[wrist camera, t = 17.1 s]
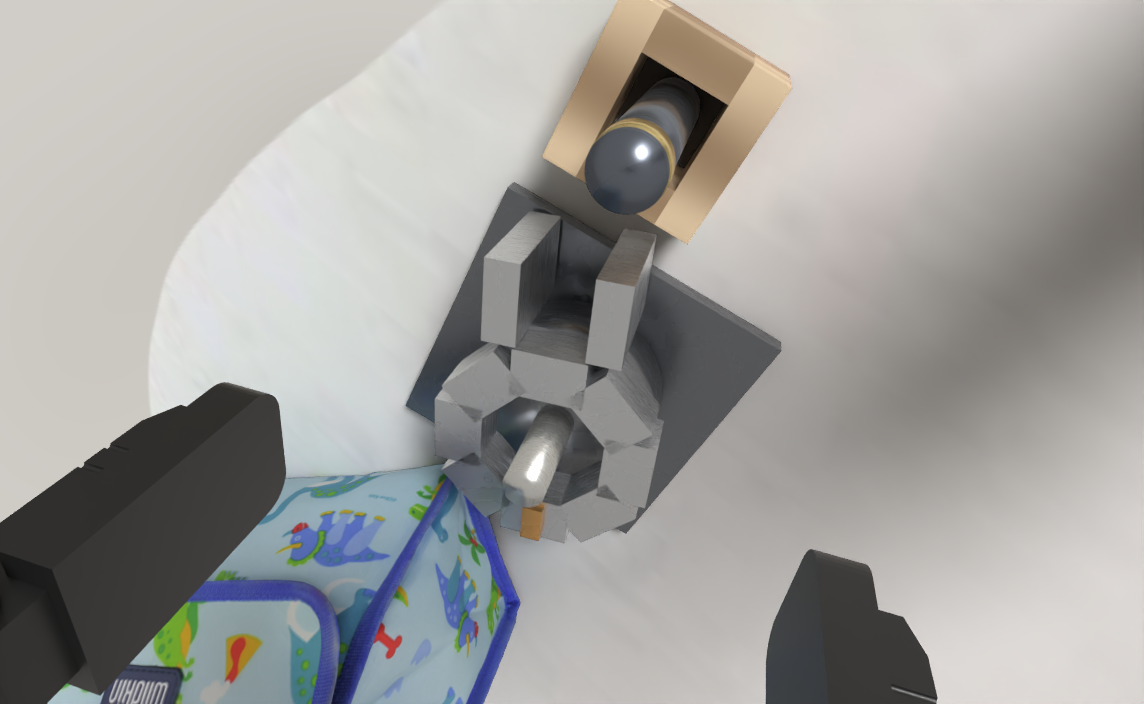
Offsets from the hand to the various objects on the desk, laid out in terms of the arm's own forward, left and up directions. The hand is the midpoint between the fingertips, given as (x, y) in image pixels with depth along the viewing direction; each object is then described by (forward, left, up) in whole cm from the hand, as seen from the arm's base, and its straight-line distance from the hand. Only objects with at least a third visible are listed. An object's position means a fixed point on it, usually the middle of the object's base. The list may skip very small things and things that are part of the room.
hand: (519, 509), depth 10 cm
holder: (-1, -2, -25) cm, 25 cm away
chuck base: (+14, +1, -25) cm, 29 cm away
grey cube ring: (+12, +1, -24) cm, 27 cm away
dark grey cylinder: (-1, -2, -25) cm, 25 cm away
